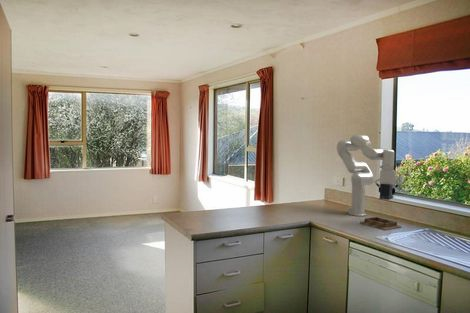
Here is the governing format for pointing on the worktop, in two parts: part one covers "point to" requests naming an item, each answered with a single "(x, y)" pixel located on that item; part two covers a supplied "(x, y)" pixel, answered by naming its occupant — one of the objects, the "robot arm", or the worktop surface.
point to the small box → (386, 191)
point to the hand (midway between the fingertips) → (386, 193)
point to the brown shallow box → (380, 223)
